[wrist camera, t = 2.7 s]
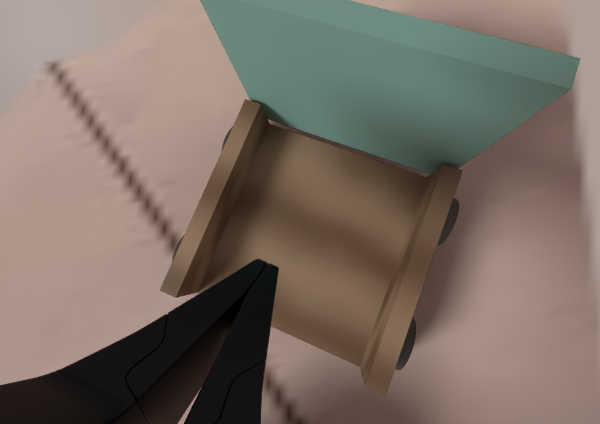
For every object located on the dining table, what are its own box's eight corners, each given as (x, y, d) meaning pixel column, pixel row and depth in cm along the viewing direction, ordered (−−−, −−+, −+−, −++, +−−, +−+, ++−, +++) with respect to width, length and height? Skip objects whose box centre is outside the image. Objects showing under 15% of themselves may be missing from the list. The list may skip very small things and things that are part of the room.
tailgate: (444, 178, 20) (571, 89, 10) (258, 116, 23) (193, -13, 12) (453, 150, 21) (588, 33, 10) (269, 91, 23) (215, -55, 12)
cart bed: (387, 368, 21) (406, 405, 16) (186, 277, 24) (144, 283, 19) (446, 196, 23) (482, 176, 17) (251, 128, 26) (229, 94, 20)
